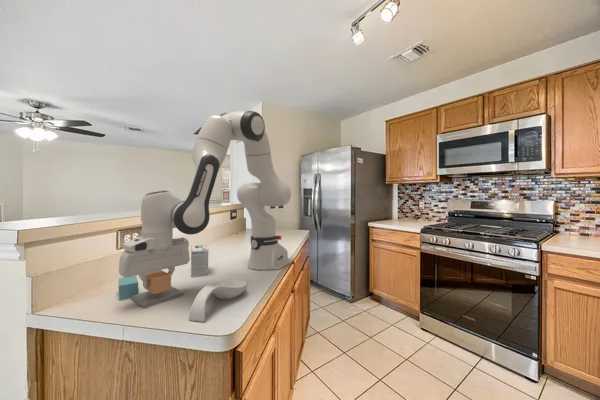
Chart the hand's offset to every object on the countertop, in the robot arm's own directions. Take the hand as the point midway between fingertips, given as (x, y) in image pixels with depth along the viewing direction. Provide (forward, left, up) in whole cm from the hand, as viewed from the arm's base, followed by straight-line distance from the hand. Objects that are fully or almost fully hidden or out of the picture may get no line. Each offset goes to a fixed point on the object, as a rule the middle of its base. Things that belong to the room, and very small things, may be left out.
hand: (157, 283), depth 80 cm
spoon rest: (-10, +19, -5) cm, 22 cm away
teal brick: (+5, -10, -5) cm, 12 cm away
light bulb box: (-22, -13, -5) cm, 26 cm away
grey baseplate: (0, 0, -4) cm, 5 cm away
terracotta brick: (0, 0, -2) cm, 2 cm away
